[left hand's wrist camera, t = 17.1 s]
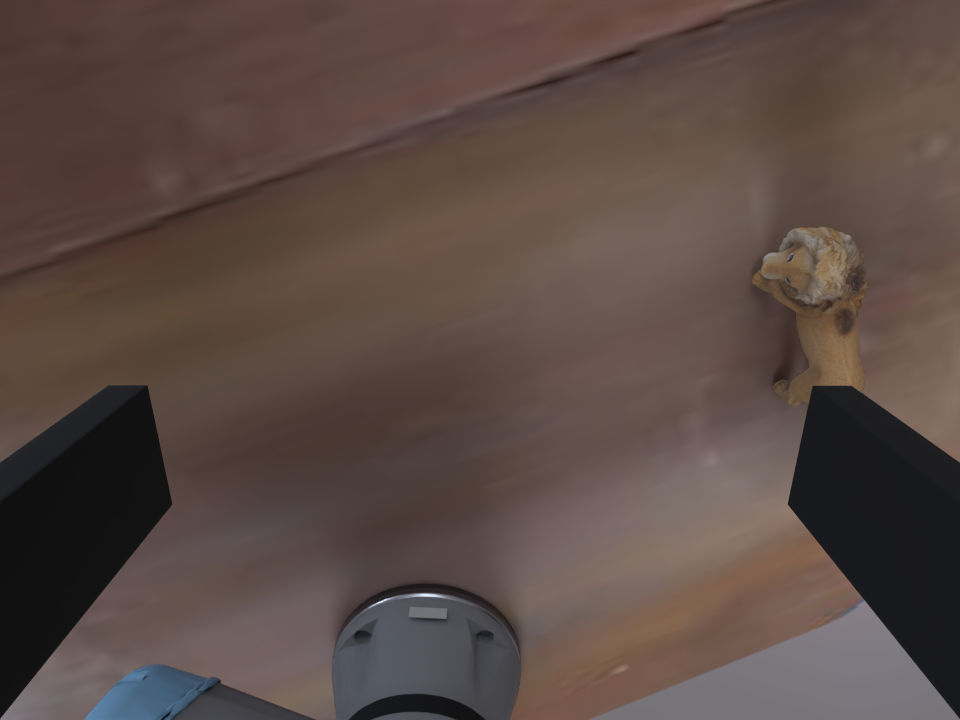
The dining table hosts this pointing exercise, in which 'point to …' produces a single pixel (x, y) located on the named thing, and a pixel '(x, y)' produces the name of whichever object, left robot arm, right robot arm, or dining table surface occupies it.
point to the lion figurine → (819, 306)
